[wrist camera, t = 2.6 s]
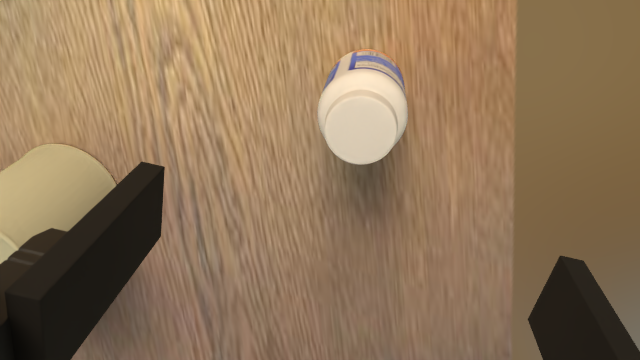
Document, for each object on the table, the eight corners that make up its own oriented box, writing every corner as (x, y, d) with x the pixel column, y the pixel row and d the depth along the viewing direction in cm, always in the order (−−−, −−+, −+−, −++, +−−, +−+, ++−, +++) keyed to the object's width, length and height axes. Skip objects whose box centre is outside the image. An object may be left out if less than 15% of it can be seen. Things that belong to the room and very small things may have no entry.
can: (14, 217, 44) (-102, 307, 34) (20, 127, 40) (-111, 196, 30) (113, 252, 45) (29, 351, 34) (129, 166, 41) (39, 248, 30)
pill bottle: (352, 133, 37) (343, 194, 29) (313, 72, 36) (291, 116, 27) (417, 97, 36) (429, 150, 27) (380, 31, 34) (379, 65, 25)
